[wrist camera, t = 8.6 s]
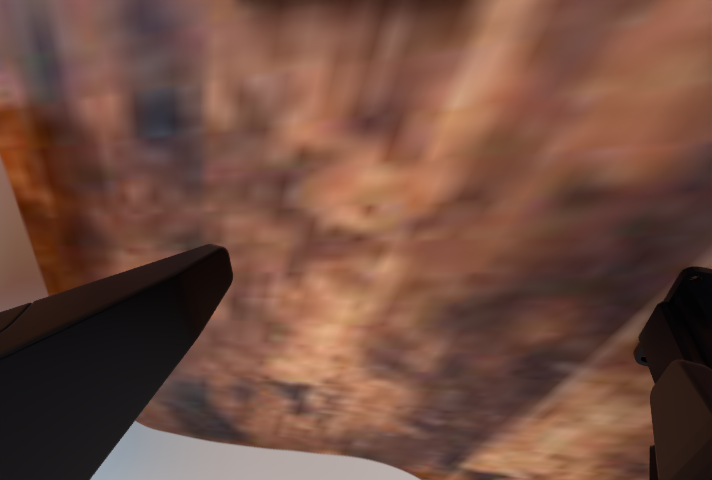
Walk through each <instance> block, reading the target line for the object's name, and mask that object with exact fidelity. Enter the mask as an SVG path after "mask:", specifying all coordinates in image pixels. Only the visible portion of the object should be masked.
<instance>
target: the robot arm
mask: <svg viewBox="0 0 712 480" xmlns="http://www.w3.org/2000/svg"><path fill="white" fill-rule="evenodd" d="M693 276H699V277H698V278H697V279H694V280H690V278H691V277H693ZM232 280H233V272H232V267H231V262H230V257H229V253H228V250H227V249H226V248H225V247H222V246H218V245H214V244H208V245H205V246H201V247H198V248H195V249H192V250H189V251H186V252H183V253H180V254H177V255H174V256H171V257H168V258H165V259H162V260H159V261H156V262H153V263H149V264H146V265H143V266H140V267H137V268H134V269H131V270H128V271H125V272H122V273H119V274H116V275H113V276H110V277H107V278H104V279H101V280H98V281H94V282H91V283H88V284H85V285H82V286H79V287H76V288H73V289H70V290H67V291H64V292H61V293H58V294H55V295H52V296H49V297H46V298H43V299H39V300H36V301H34V302H33V303H27V304H24V305H21V306H18V307H15V308H12V309H9V310H6V311H2V312H0V480H90V479H91V477H92V476H93V475H94V474H95V472H96V471H97V470H98V468H99V467H100V466H101V464H102V463H103V462H104V460H105V459H106V458H107V457H108V455H109V454H110V453H111V451H112V450H113V449H114V447H115V446H116V445H117V443H118V442H119V441H120V439H121V438H122V437H123V436H124V434H125V433H126V432H127V430H128V429H129V428H130V426H131V425H132V424H133V422H134V421H135V420H136V418H137V417H138V416H139V415H140V413H141V412H142V411H143V409H144V408H145V407H146V405H147V404H148V403H149V401H150V400H151V399H152V397H153V396H154V395H155V394H156V392H157V391H158V390H159V388H160V387H161V386H162V384H163V383H164V382H165V380H166V379H167V378H168V376H169V375H170V374H171V373H172V371H173V370H174V369H175V367H176V366H177V365H178V363H179V362H180V361H181V359H182V358H183V357H184V355H185V354H186V353H187V352H188V350H189V349H190V348H191V346H192V345H193V344H194V342H195V341H196V339H197V338H198V337H199V335H200V334H201V332H202V331H203V329H204V328H205V326H206V324H207V323H208V321H209V319H210V318H211V316H212V315H213V313H214V311H215V310H216V308H217V306H218V305H219V303H220V302H221V300H222V298H223V297H224V295H225V293H226V292H227V290H228V289H229V287H230V285H231V283H232ZM639 341H640V342H639V344H638V345H637V347H636V349H635V350H634V353H633V354H634V357H635V360H636V362H637V363H639V364H641V365H644V366H648V367H649V369H650V372H651V375H652V377H653V380H654V383H655V385H654V387H653V388H652V391H651V395H650V405H651V414H652V423H653V433H654V442H655V445H652V446H650V479H649V480H712V269H708V268H702V267H689V268H686V269H684V270H683V271H682V272H681V273H680V274H679V276H678V278H677V279H676V281H675V283H674V285H673V286H672V288H671V290H670V291H669V293H668V295H667V296H666V298H665V300H664V301H662V302H661V303H659V304H658V305H657V306H656V308H655V310H654V311H653V313H652V315H651V316H650V318H649V320H648V322H647V323H646V325H645V327H644V328H643V330H642V332H641V334H640V335H639ZM642 356H645V357H642Z"/></svg>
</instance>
